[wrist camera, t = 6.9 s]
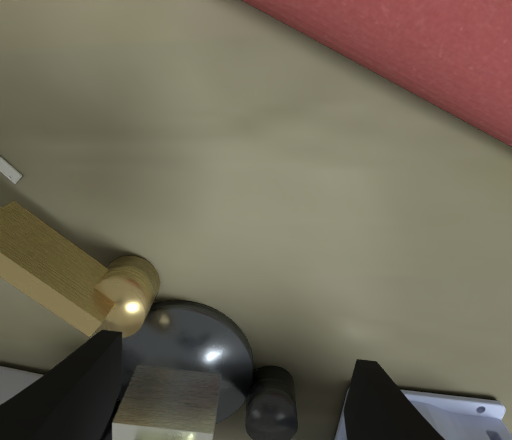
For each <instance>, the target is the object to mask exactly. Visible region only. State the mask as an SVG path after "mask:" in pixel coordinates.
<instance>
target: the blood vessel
mask: <svg viewBox="0 0 512 440" xmlns="http://www.w3.org/2000/svg"><path fill="white" fill-rule="evenodd" d="M243 1H244V2H246V3H248V4H250V5H252V6H254V7H255V8H257V9H259V10H261V11H263V12H265V13H267V14H268V15H270V16H272V17H274V18H276V19H278V20H279V21H281V22H283V23H285V24H287V25H289V26H290V27H292V28H294V29H296V30H298V31H300V32H301V33H303V34H305V35H307V36H309V37H311V38H313V39H314V40H316V41H318V42H320V43H322V44H324V45H325V46H327V47H329V48H331V49H333V50H335V51H336V52H338V53H340V54H342V55H344V56H346V57H347V58H349V59H351V60H353V61H355V62H357V63H359V64H360V65H362V66H364V67H366V68H368V69H370V70H371V71H373V72H375V73H377V74H379V75H381V76H382V77H384V78H386V79H388V80H390V81H392V82H393V83H395V84H397V85H399V86H401V87H403V88H405V89H406V90H408V91H410V92H412V93H414V94H416V95H417V96H419V97H421V98H423V99H425V100H427V101H428V102H430V103H432V104H434V105H436V106H438V107H439V108H441V109H443V110H445V111H447V112H449V113H451V114H452V115H454V116H456V117H458V118H460V119H462V120H463V121H465V122H467V123H469V124H471V125H473V126H474V127H476V128H478V129H480V130H482V131H484V132H485V133H487V134H489V135H491V136H493V137H495V138H497V139H498V140H500V141H502V142H504V143H506V144H508V145H509V146H511V147H512V0H243Z"/></svg>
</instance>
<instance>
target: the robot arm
mask: <svg viewBox="0 0 512 440" xmlns="http://www.w3.org/2000/svg"><path fill="white" fill-rule="evenodd" d="M121 386H122V332H118V331H110V330H101V331H100V332H98V333H97V334H96V335H94V336H93V337H92V338H91V339H89V340H88V341H87V342H86V343H84V344H83V345H82V346H81V347H79V348H78V349H77V350H76V351H74V352H73V353H72V354H71V355H69V356H68V357H67V358H66V359H64V360H63V361H62V362H60V363H59V364H58V365H56V366H55V367H54V368H53V369H51V370H50V371H49V372H47V373H46V374H45V375H43V376H42V377H41V378H39V379H38V380H36V381H35V382H33V383H32V384H31V385H29V386H28V387H26V388H25V389H23V390H22V391H21V392H19V393H18V394H16V395H15V396H13V397H12V398H10V399H9V400H7V401H6V402H4V403H2V404H1V405H0V440H100V438H101V436H102V434H103V432H104V430H105V428H106V426H107V424H108V421H109V419H110V417H111V414H112V412H113V409H114V406H115V403H116V400H117V398H118V395H119V392H120V389H121ZM478 407H479V408H478ZM505 410H506V409H505V407H504V405H503V404H502V403H501V402H500V401H495V400H487V399H478V398H469V397H460V396H452V395H443V394H434V393H426V392H417V391H408V390H400V389H399V388H398V387H397V385H396V384H395V383H394V382H393V381H392V379H391V378H390V377H389V376H388V375H387V373H386V372H385V371H384V370H383V369H382V367H381V366H380V365H379V364H378V363H377V362H376V361H367V360H359V359H357V360H356V364H355V368H354V372H353V376H352V379H351V383H350V387H349V388H348V390H347V394H346V398H345V402H344V406H343V410H342V413H341V417H340V421H339V425H338V429H337V432H336V436H335V440H512V434H511V433H510V431H509V430H508V428H507V427H506V426H505V424H504V423H503V421H502V418H503V415H504V413H505Z"/></svg>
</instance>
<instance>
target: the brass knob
mask: <svg viewBox="0 0 512 440" xmlns="http://www.w3.org/2000/svg"><path fill="white" fill-rule="evenodd" d="M0 277H1V278H3V279H4V280H5V281H7V282H8V283H10V284H11V285H13V286H14V287H16V288H17V289H19V290H20V291H22V292H23V293H25V294H26V295H28V296H29V297H31V298H32V299H34V300H35V301H37V302H38V303H40V304H41V305H42V306H44V307H45V308H47V309H48V310H50V311H51V312H53V313H54V314H56V315H57V316H59V317H60V318H62V319H63V320H65V321H66V322H68V323H69V324H71V325H72V326H74V327H75V328H77V329H78V330H80V331H81V332H82V333H84V334H85V335H87V336H88V337H90V336H91V335H92V334H93V333H94V332H97V333H98V332H100V331H101V330H110V331H118V332H122V338H125V337H128V336H131V335H133V334H134V333H136V332H137V331H138V330H139V329H140V328H141V326H142V324H143V322H144V320H145V318H146V316H147V314H148V312H149V310H150V308H151V306H152V304H153V302H154V300H155V298H156V295H157V293H158V291H159V288H160V278H159V275H158V272H157V271H156V269H155V268H154V267H153V266H152V264H150V263H149V262H148V261H146V260H144V259H142V258H140V257H136V256H123V257H119V258H117V259H115V260H114V261H112V262H111V263H110V264H109V266H108V267H107V268H106V267H104V266H103V265H102V264H100V263H99V262H98V261H96V260H95V259H93V258H92V257H91V256H89V255H88V254H87V253H85V252H84V251H82V250H81V249H80V248H78V247H77V246H76V245H74V244H73V243H71V242H70V241H69V240H67V239H66V238H65V237H63V236H62V235H60V234H59V233H58V232H56V231H55V230H54V229H52V228H51V227H49V226H48V225H47V224H45V223H44V222H43V221H41V220H40V219H39V218H37V217H36V216H34V215H33V214H32V213H30V212H29V211H28V210H26V209H25V208H23V207H22V206H21V205H19V204H18V203H17V202H15V201H13V202H11V203H9V204H7V205H5V206H3V207H1V208H0Z"/></svg>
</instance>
